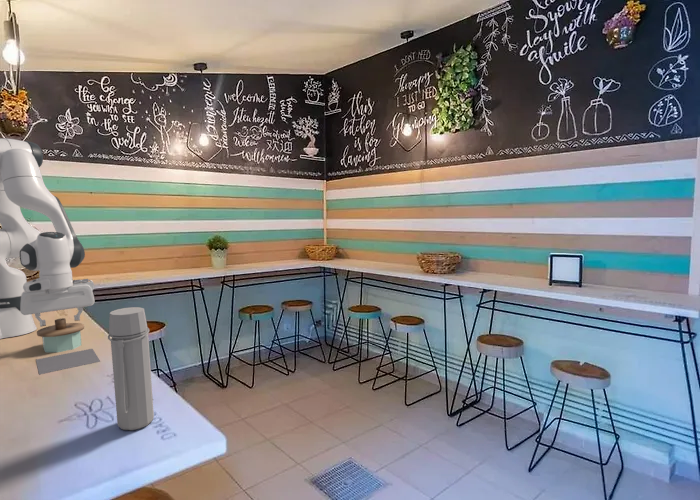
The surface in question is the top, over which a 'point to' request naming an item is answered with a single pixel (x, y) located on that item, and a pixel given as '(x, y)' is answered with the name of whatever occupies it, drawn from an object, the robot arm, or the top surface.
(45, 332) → the walnut lid
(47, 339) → the ceramic bowl
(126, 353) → the water bottle
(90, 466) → the top surface
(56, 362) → the rubber mat
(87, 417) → the top surface
